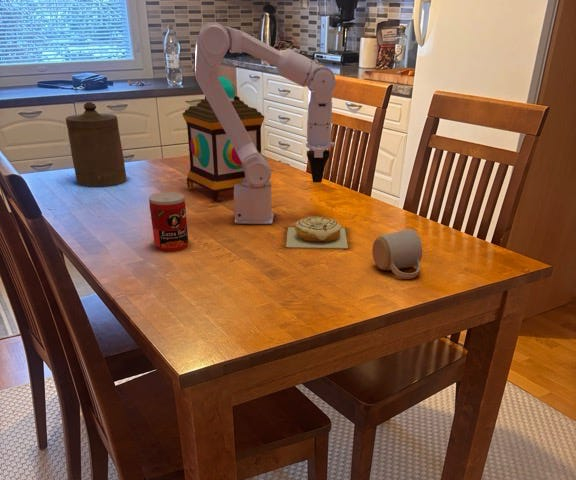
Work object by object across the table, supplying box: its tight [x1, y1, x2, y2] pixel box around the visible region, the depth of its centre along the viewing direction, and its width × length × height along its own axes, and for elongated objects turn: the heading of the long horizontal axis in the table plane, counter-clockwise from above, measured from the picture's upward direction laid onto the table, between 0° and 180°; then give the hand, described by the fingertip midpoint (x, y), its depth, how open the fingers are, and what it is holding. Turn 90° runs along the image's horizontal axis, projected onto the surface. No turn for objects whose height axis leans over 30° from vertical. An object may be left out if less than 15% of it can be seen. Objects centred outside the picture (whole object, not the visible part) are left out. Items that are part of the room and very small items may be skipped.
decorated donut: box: [294, 216, 342, 242], centre depth 136 cm, size 10×11×4 cm
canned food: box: [148, 191, 189, 252], centre depth 129 cm, size 8×8×11 cm
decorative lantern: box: [182, 76, 265, 203], centre depth 162 cm, size 20×20×30 cm
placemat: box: [285, 226, 349, 250], centre depth 137 cm, size 14×14×1 cm
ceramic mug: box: [371, 228, 423, 280], centre depth 119 cm, size 11×8×8 cm
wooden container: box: [65, 101, 127, 188], centre depth 174 cm, size 15×15×22 cm
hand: (317, 181), depth 145 cm, fingers closed
